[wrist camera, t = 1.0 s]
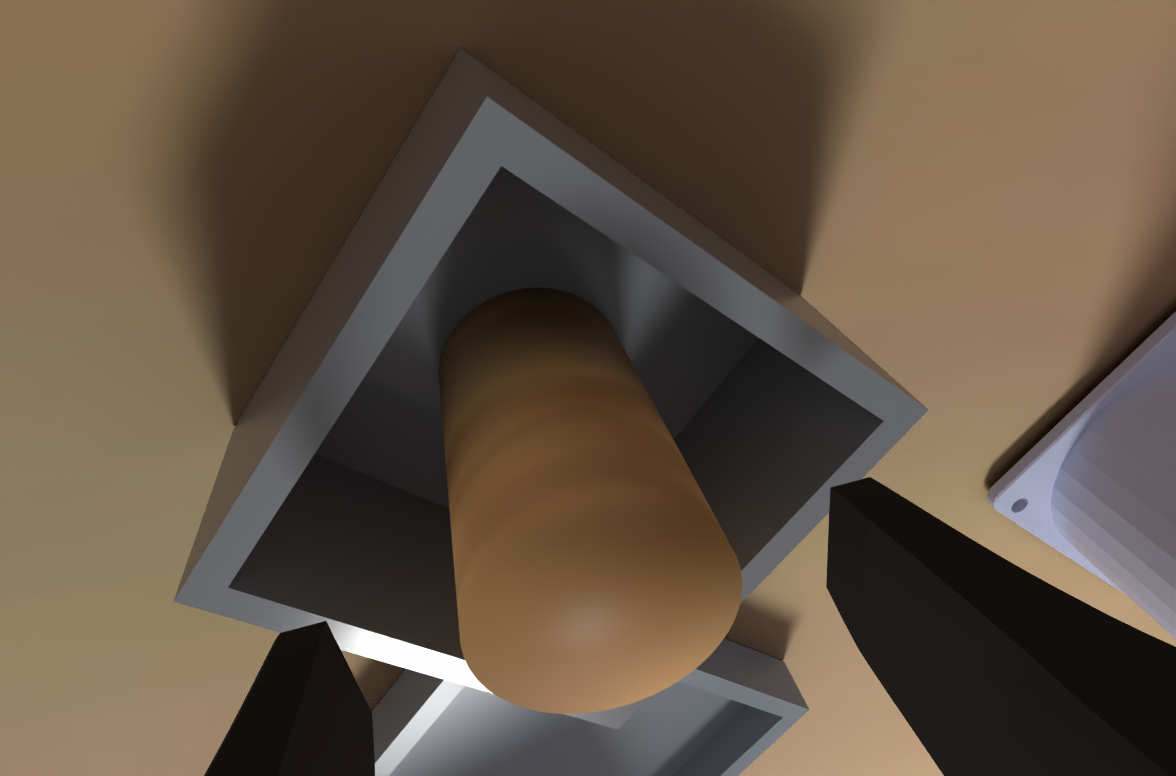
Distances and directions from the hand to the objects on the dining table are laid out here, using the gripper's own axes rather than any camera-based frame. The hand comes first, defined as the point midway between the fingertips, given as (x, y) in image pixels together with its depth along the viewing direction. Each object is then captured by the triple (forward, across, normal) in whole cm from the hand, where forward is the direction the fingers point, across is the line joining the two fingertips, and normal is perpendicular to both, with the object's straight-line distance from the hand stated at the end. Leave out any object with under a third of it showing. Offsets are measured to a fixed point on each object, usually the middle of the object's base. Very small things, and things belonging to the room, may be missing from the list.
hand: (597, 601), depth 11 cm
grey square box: (+7, 0, 0) cm, 7 cm away
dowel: (+7, 0, 0) cm, 7 cm away
